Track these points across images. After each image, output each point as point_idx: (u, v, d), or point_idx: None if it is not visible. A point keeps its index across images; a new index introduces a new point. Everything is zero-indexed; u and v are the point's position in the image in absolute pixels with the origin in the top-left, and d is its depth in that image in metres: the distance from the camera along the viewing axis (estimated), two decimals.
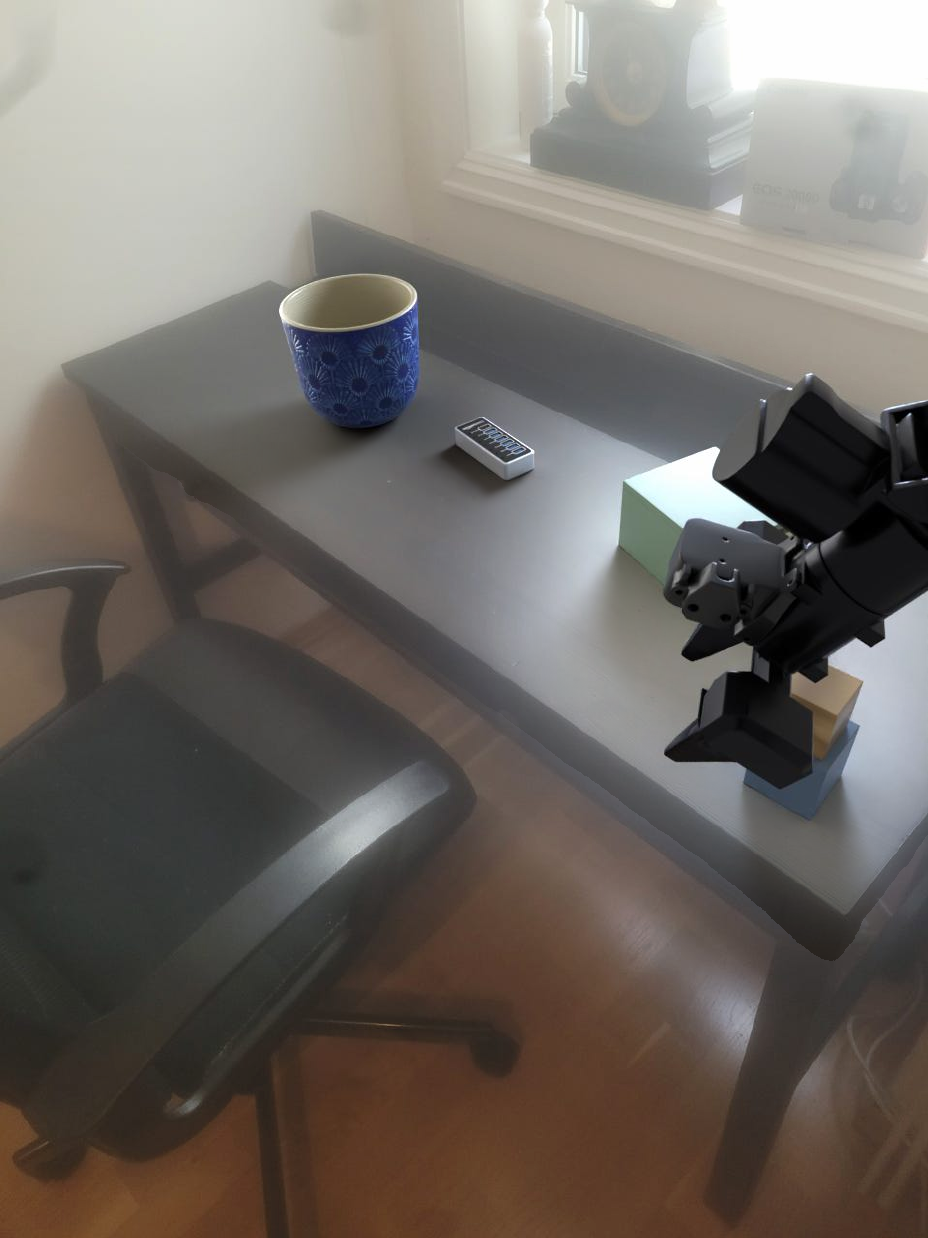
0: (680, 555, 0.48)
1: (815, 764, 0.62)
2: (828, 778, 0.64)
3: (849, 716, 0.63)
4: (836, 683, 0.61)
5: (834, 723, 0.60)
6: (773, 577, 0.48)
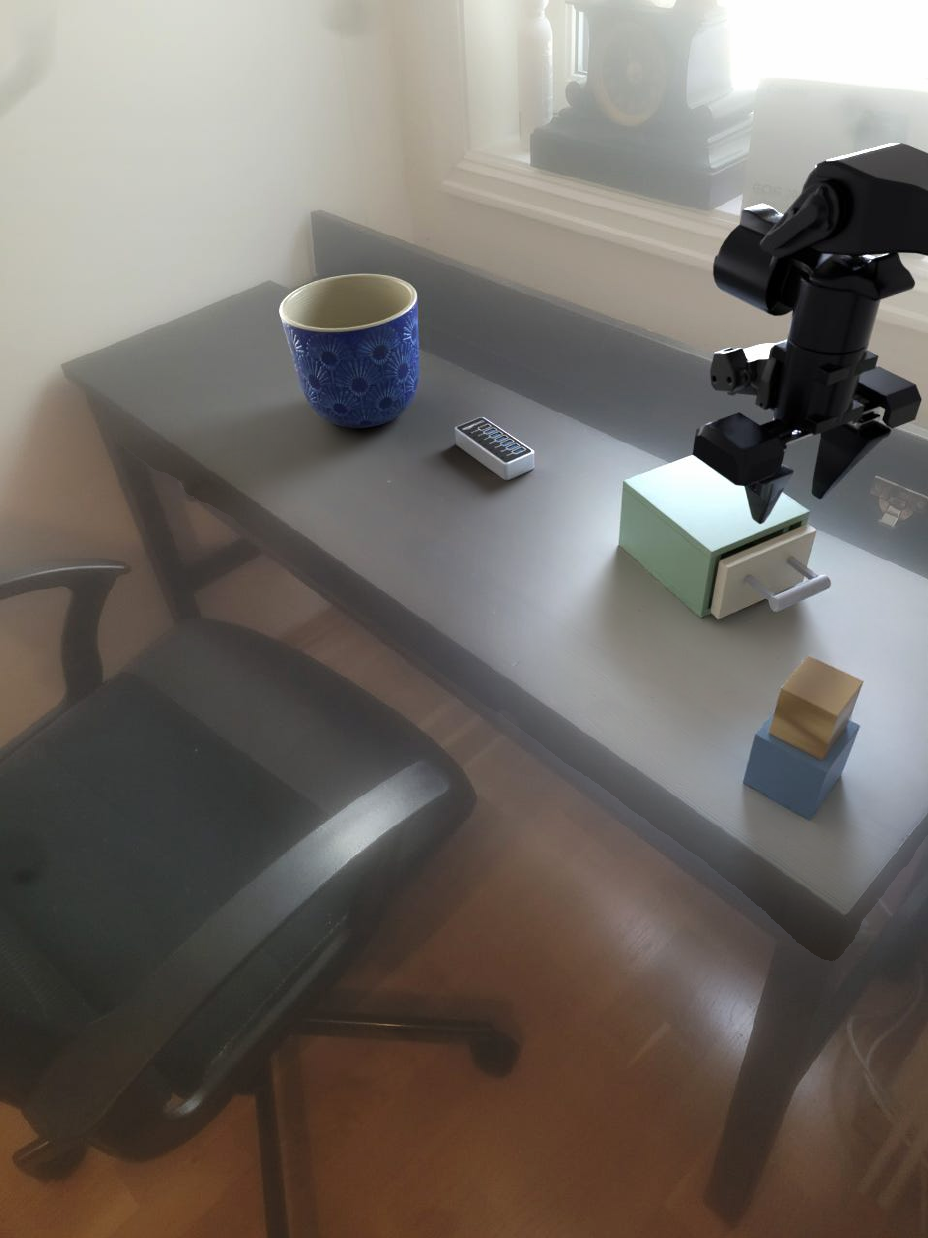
0: None
1: (815, 764, 0.62)
2: (828, 778, 0.64)
3: (849, 716, 0.63)
4: (836, 683, 0.61)
5: (834, 723, 0.60)
6: None
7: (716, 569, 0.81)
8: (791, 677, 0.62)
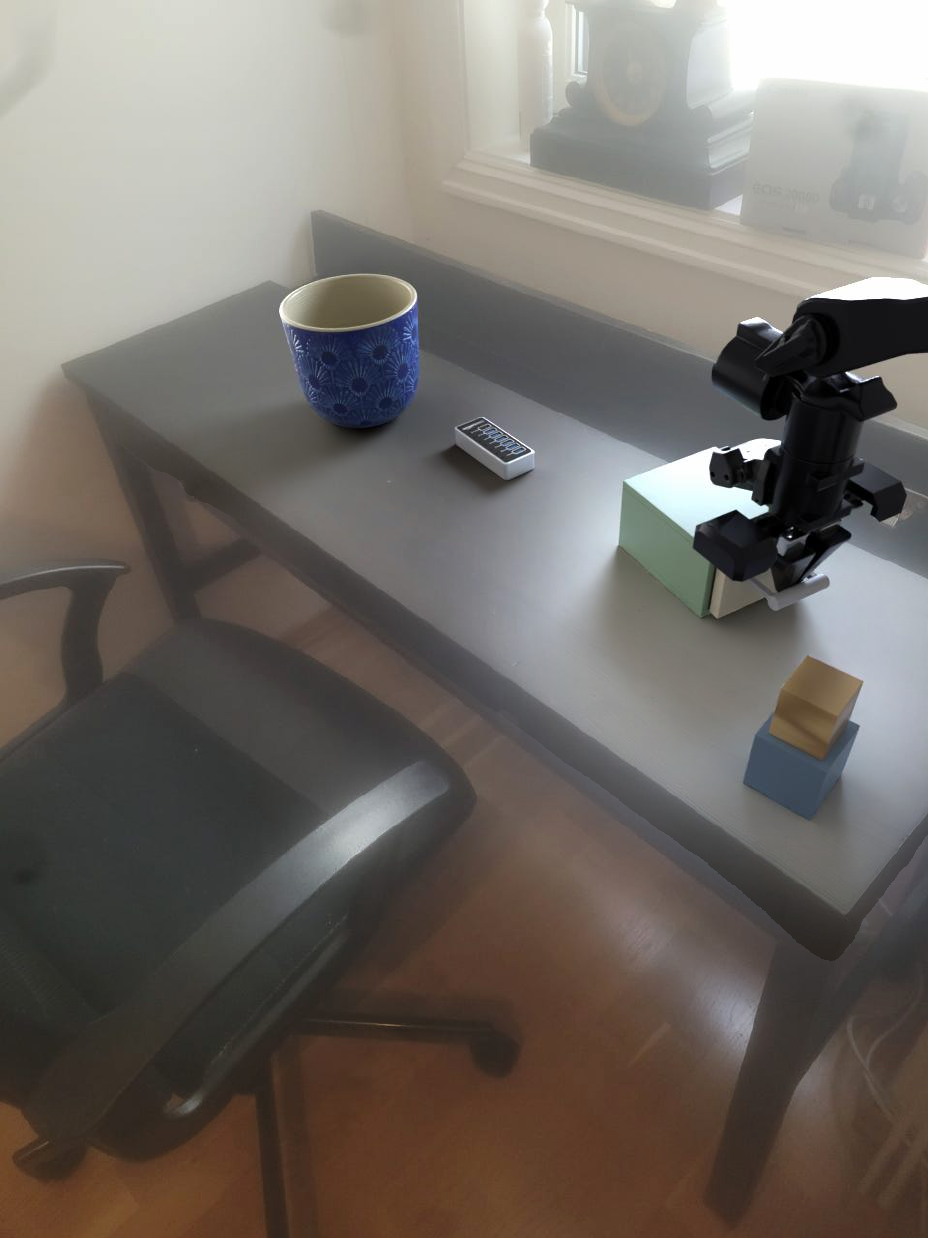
0: None
1: (815, 764, 0.62)
2: (828, 778, 0.64)
3: (849, 716, 0.63)
4: (836, 683, 0.61)
5: (834, 723, 0.60)
6: None
7: (715, 568, 0.81)
8: (791, 677, 0.62)
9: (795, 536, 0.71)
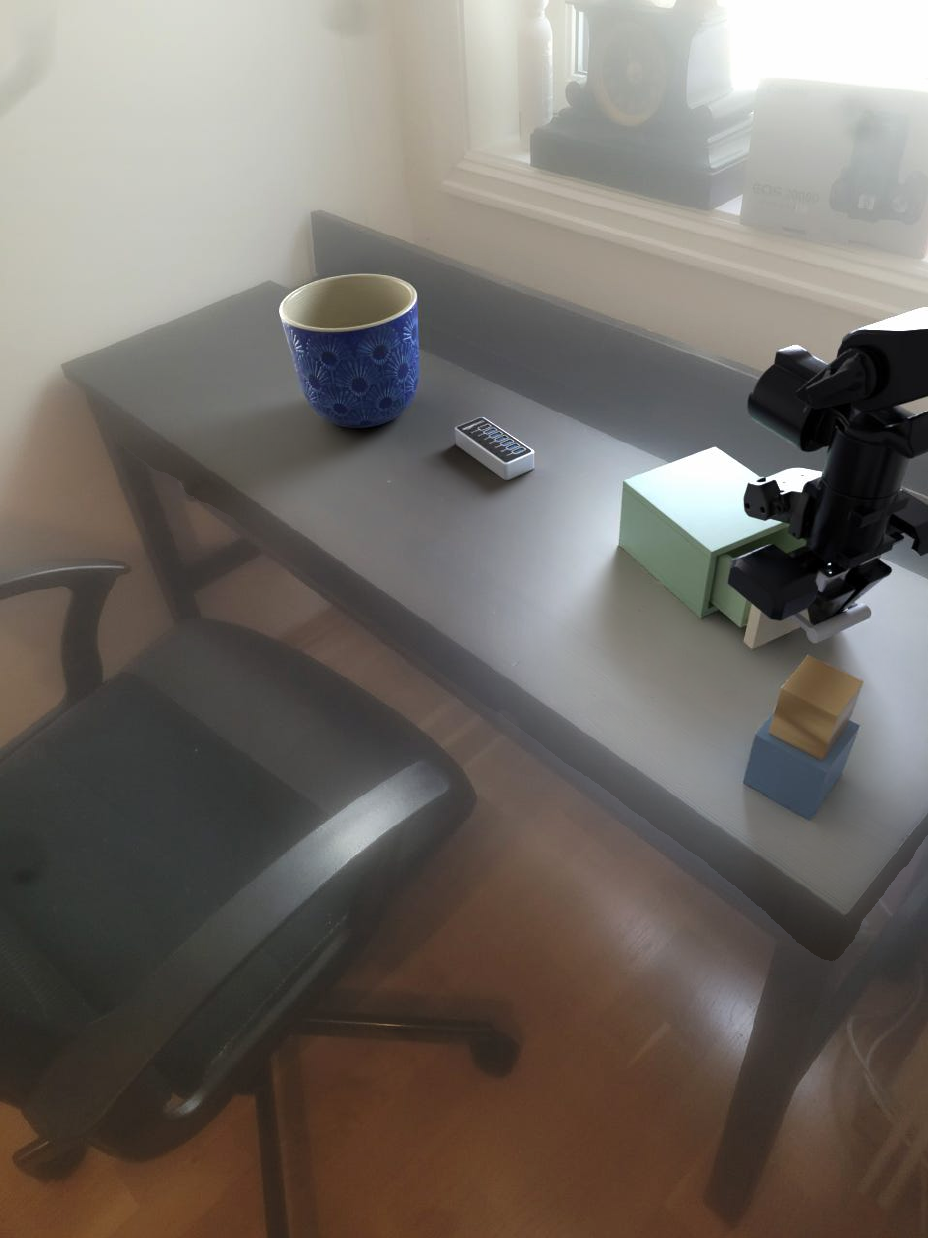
0: None
1: (815, 764, 0.62)
2: (828, 778, 0.64)
3: (849, 716, 0.63)
4: (836, 683, 0.61)
5: (834, 723, 0.60)
6: None
7: None
8: (791, 677, 0.62)
9: (835, 572, 0.69)
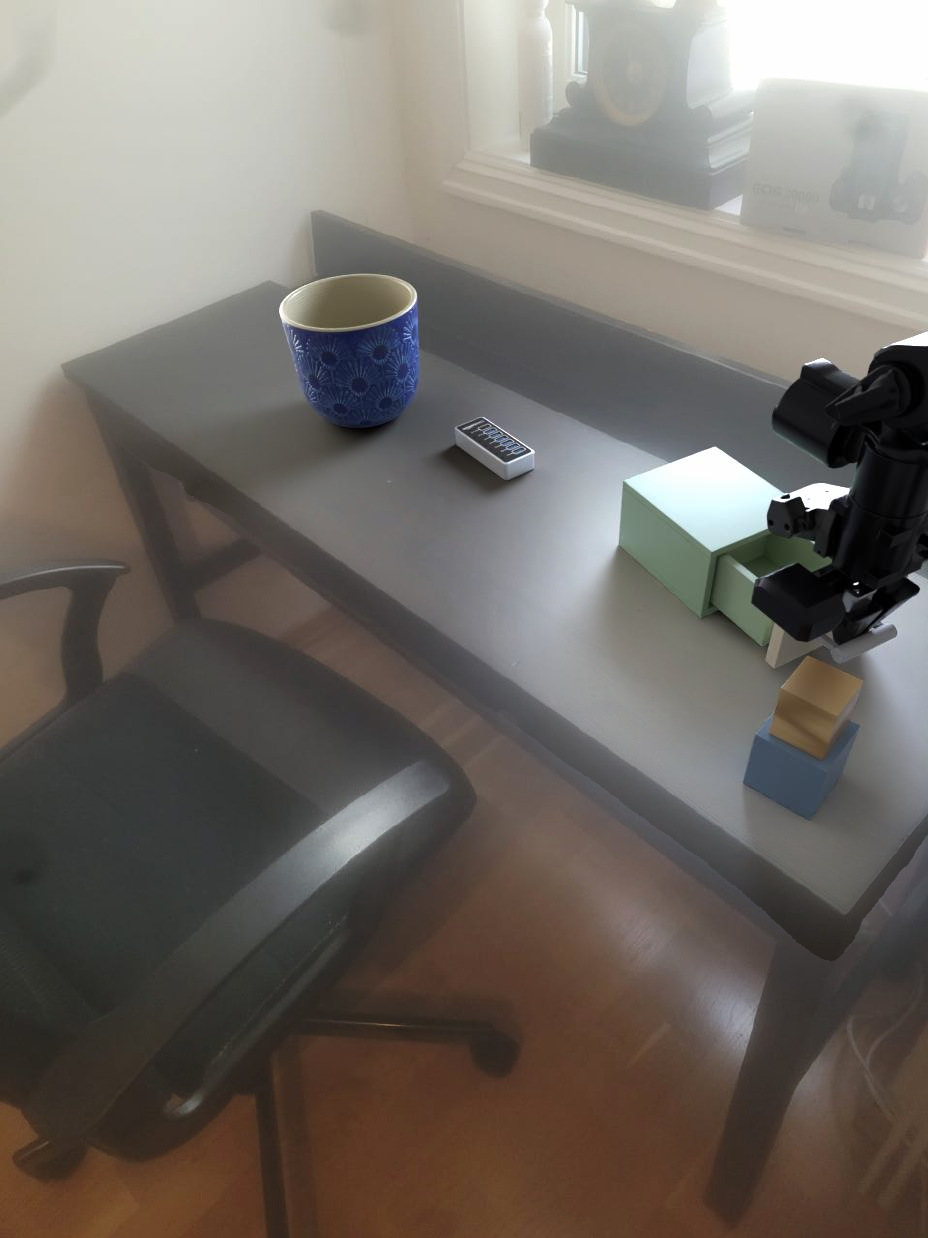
0: None
1: (815, 764, 0.62)
2: (828, 778, 0.64)
3: (849, 716, 0.63)
4: (836, 683, 0.61)
5: (834, 723, 0.60)
6: None
7: None
8: (791, 677, 0.62)
9: (862, 592, 0.67)
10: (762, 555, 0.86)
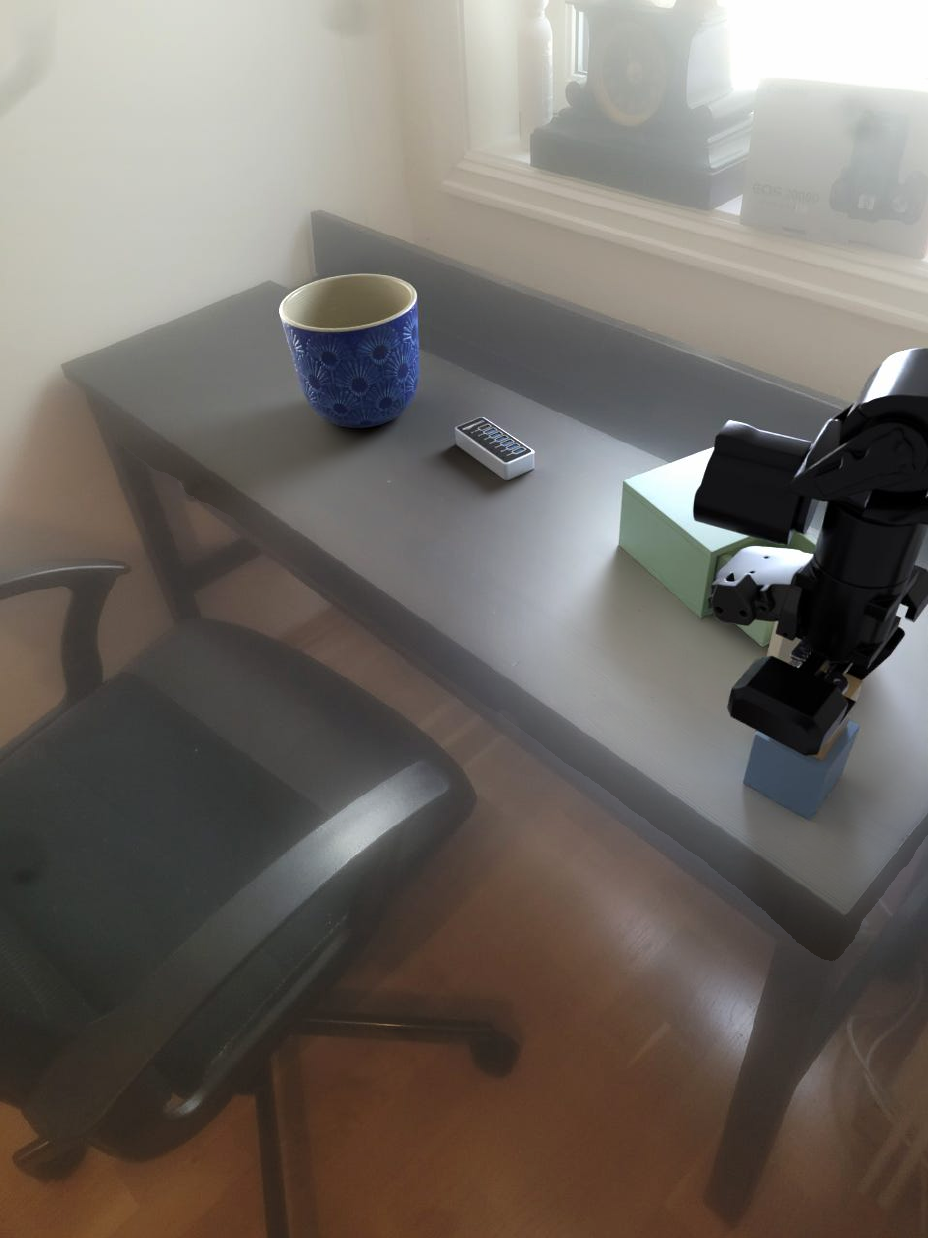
0: None
1: (815, 764, 0.62)
2: (828, 778, 0.64)
3: (849, 716, 0.63)
4: None
5: None
6: None
7: None
8: None
9: None
10: None
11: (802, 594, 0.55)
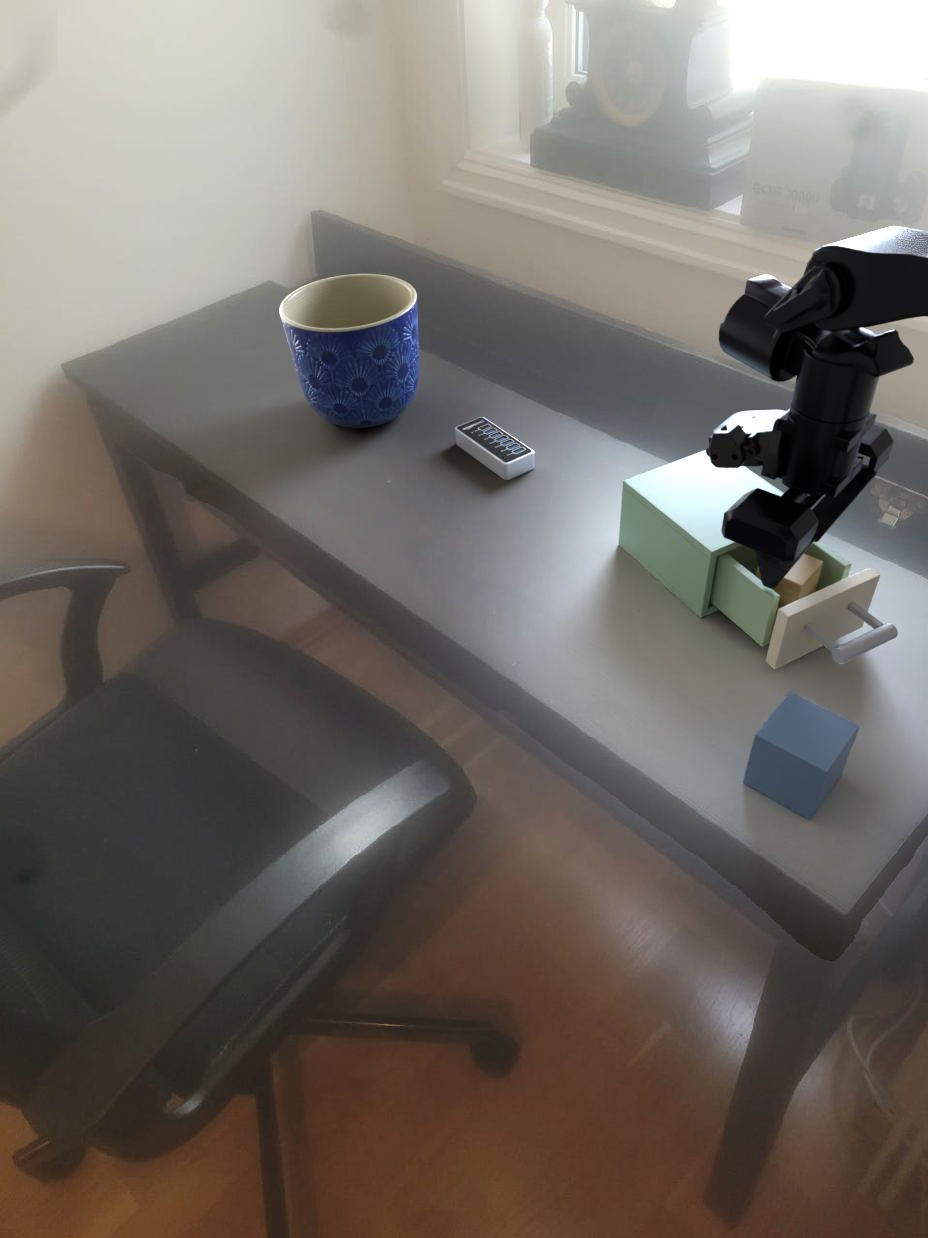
0: (713, 431, 0.73)
1: (815, 764, 0.62)
2: (828, 778, 0.64)
3: (813, 592, 0.79)
4: (801, 563, 0.77)
5: (799, 592, 0.76)
6: None
7: (773, 616, 0.76)
8: None
9: None
10: None
11: (782, 438, 0.68)
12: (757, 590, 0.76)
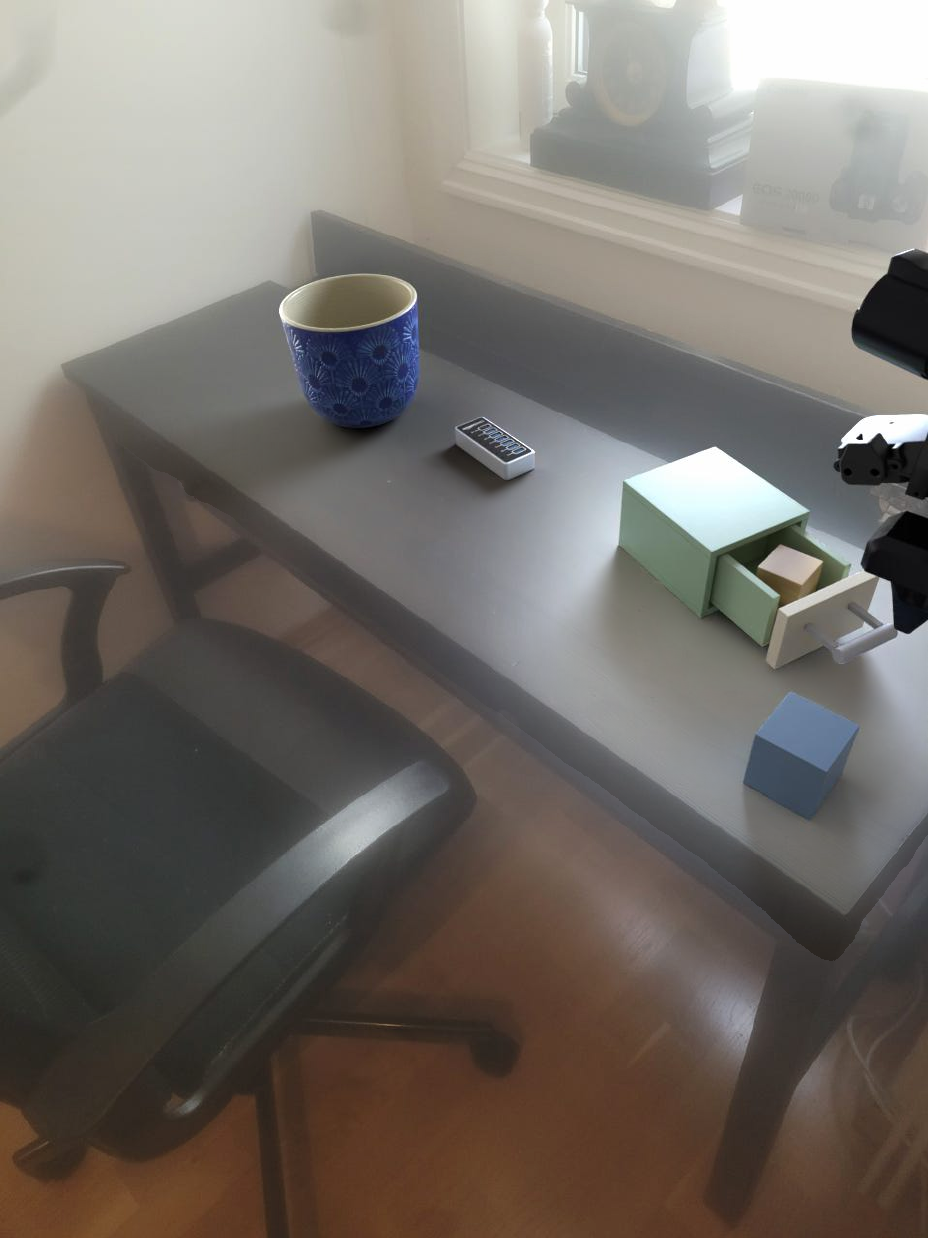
0: (841, 440, 0.60)
1: (815, 764, 0.62)
2: (828, 778, 0.64)
3: (813, 592, 0.79)
4: (801, 563, 0.77)
5: (799, 592, 0.76)
6: (924, 435, 0.57)
7: (773, 616, 0.76)
8: (766, 559, 0.78)
9: None
10: (762, 555, 0.86)
11: None
12: (757, 590, 0.76)
